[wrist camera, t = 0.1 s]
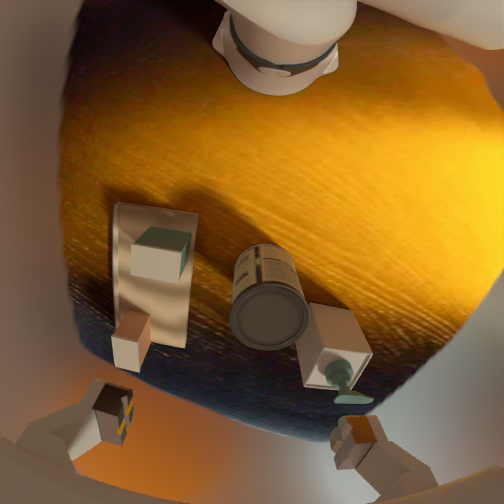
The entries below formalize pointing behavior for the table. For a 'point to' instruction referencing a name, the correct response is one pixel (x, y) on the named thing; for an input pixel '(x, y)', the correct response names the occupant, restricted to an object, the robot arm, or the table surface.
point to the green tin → (160, 254)
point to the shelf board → (144, 289)
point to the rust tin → (131, 340)
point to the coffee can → (267, 299)
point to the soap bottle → (333, 352)
